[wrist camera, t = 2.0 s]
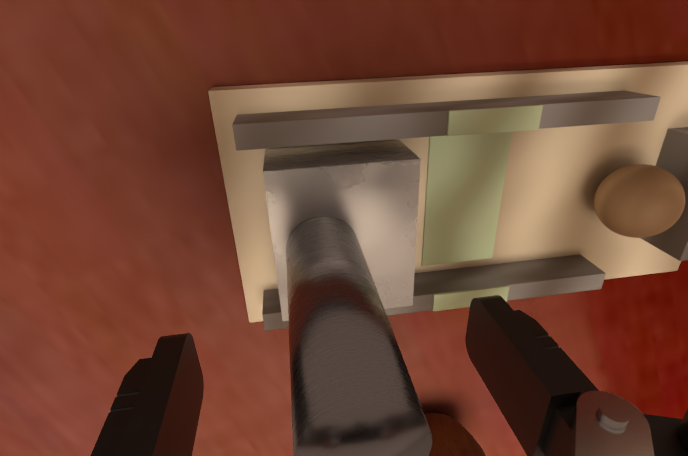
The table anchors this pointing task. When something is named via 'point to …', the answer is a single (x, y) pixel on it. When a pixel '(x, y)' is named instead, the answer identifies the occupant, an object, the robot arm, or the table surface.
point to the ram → (347, 293)
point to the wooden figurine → (450, 437)
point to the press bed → (475, 172)
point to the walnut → (639, 200)
